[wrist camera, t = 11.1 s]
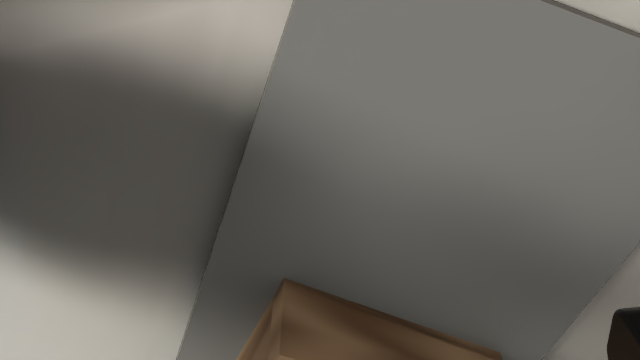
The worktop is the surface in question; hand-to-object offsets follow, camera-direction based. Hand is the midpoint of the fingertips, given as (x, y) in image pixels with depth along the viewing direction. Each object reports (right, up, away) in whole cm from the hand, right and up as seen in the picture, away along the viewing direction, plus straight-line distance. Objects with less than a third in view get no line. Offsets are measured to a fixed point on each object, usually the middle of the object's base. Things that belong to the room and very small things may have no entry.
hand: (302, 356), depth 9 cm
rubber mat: (+3, -2, +14) cm, 15 cm away
